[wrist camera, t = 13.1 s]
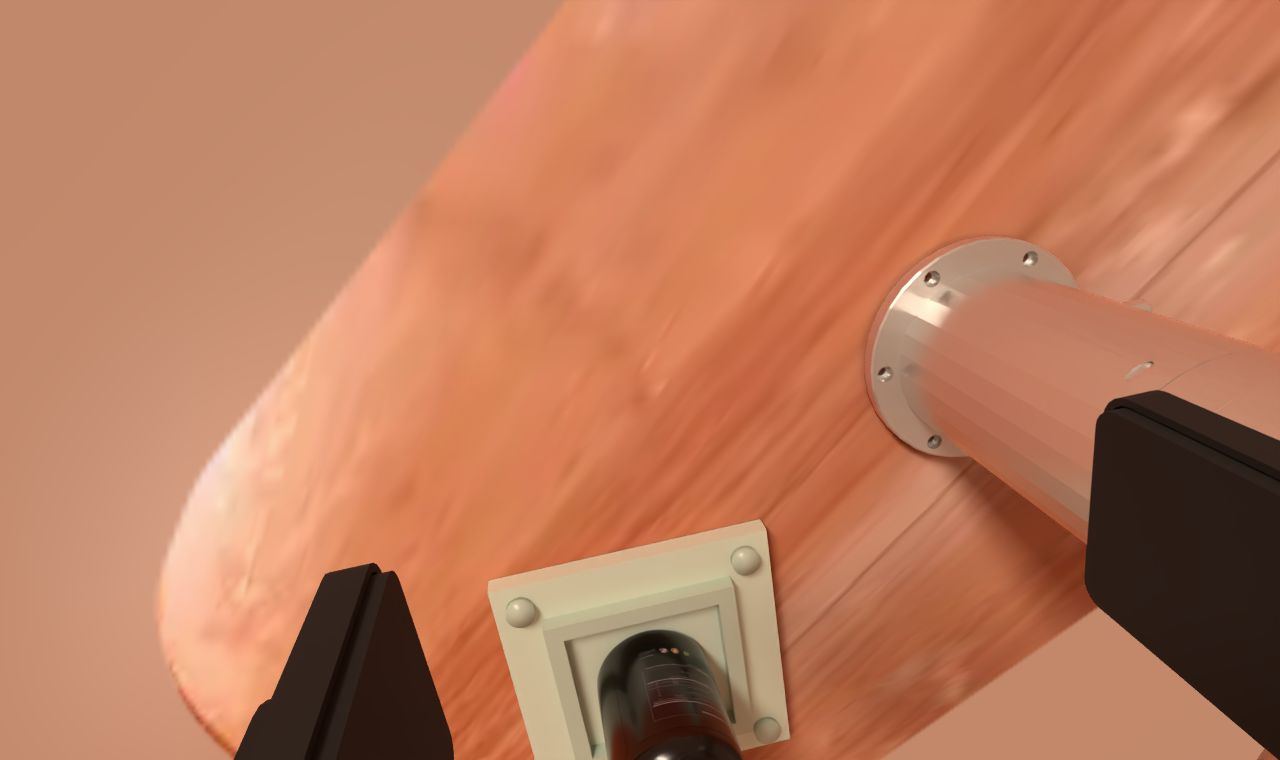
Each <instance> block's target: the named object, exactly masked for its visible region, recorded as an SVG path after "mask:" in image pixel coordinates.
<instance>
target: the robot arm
mask: <svg viewBox="0 0 1280 760" xmlns="http://www.w3.org/2000/svg"><path fill="white" fill-rule="evenodd" d="M926 275H927V277H926V278H925V276H926ZM881 368H882V369H881ZM880 369H881V371H880ZM879 371H880V372H879ZM865 381H866V386H867V390H868V395H869V398H870V400H871V402H872V404H873V407H874V409H875V411H876V413H877V414H878V416H879V417H880V418H881V420H882V421H883V422H884V424H885V425H886V426H887V427H888V428H889V429H890V430H891V431H892V432H893V433H894V434H895V435H897V436H898V437H899V438H900V439H901V440H903V441H904V442H906V443H907V444H909V445H910V446H912V447H913V448H915V449H917V450H920V451H922V452H925V453H927V454H931V455H936V456H943V457H949V458H952V457H972V458H973V459H974V460H975V461H977V462H978V463H979V464H981V465H982V466H983V467H985V468H986V469H987V470H989V471H990V472H991V473H993V474H994V475H995V476H997V477H998V478H999V479H1001V480H1002V481H1003V482H1004V483H1006V484H1007V485H1008V486H1010V487H1011V488H1012V489H1014V490H1015V491H1016V492H1018V493H1019V494H1020V495H1022V496H1023V497H1024V498H1026V499H1027V500H1028V501H1030V502H1031V503H1032V504H1033V505H1035V506H1036V507H1037V508H1039V509H1040V510H1041V511H1043V512H1044V513H1045V514H1047V515H1048V516H1049V517H1051V518H1052V519H1053V520H1055V521H1056V522H1057V523H1058V524H1060V525H1061V526H1062V527H1064V528H1065V529H1066V530H1068V531H1069V532H1070V533H1072V534H1073V535H1074V536H1076V537H1077V538H1078V539H1080V540H1081V541H1082V542H1084V543H1085V544H1086V545H1087V550H1086V563H1085V585H1086V589H1087V591H1088V593H1089V595H1090V597H1091V598H1092V600H1093V601H1094V603H1095V604H1096V605H1097V606H1098V607H1099V608H1100V609H1102V610H1103V611H1104V612H1105V613H1106V614H1107V615H1109V616H1110V617H1111V618H1112V619H1113V620H1115V621H1116V622H1117V623H1118V624H1119V625H1120V626H1121V627H1123V628H1124V629H1125V630H1126V631H1128V632H1129V633H1130V634H1131V635H1132V636H1133V637H1135V638H1136V639H1137V640H1138V641H1139V642H1140V643H1142V644H1143V645H1144V646H1145V647H1146V648H1147V649H1149V650H1150V651H1151V652H1152V653H1153V654H1154V655H1156V656H1157V657H1158V658H1159V659H1160V660H1161V661H1163V662H1164V663H1165V664H1166V665H1167V666H1169V667H1170V668H1171V669H1172V670H1173V671H1174V672H1176V673H1177V674H1178V675H1179V676H1180V677H1182V678H1183V679H1184V680H1185V681H1186V682H1187V683H1189V684H1190V685H1191V686H1192V687H1193V688H1195V689H1196V690H1197V691H1198V692H1199V693H1200V694H1201V695H1203V696H1204V697H1205V698H1206V699H1207V700H1209V701H1210V702H1211V703H1212V704H1213V705H1214V706H1216V707H1217V708H1218V709H1219V710H1220V711H1221V712H1223V713H1224V714H1225V715H1226V716H1227V717H1229V718H1230V719H1231V720H1232V721H1233V722H1234V723H1236V724H1237V725H1238V726H1239V727H1240V728H1241V729H1243V730H1244V731H1245V732H1246V733H1247V734H1248V735H1250V736H1251V737H1252V738H1253V739H1254V740H1256V741H1257V742H1258V743H1259V744H1260V745H1262V746H1263V747H1264V748H1265V749H1264V751H1263V752H1262V753H1261V755H1260V756H1259V758H1258V759H1257V760H1280V353H1279V352H1276V351H1273V350H1270V349H1266V348H1263V347H1260V346H1257V345H1254V344H1250V343H1247V342H1244V341H1241V340H1238V339H1234V338H1231V337H1228V336H1225V335H1222V334H1219V333H1215V332H1212V331H1209V330H1206V329H1203V328H1199V327H1196V326H1193V325H1190V324H1187V323H1183V322H1180V321H1177V320H1174V319H1171V318H1167V317H1164V316H1161V315H1158V314H1155V313H1152V308H1151V306H1150V304H1149V303H1148V302H1147V301H1145V300H1144V299H1137V300H1132V301H1128V302H1123V303H1119V302H1116V301H1113V300H1110V299H1107V298H1104V297H1100V296H1097V295H1094V294H1091V293H1088V292H1084V291H1081V290H1080V289H1079V286H1078V285H1077V283H1076V281H1075V279H1074V277H1073V276H1072V274H1071V272H1070V271H1069V269H1068V268H1067V267H1066V266H1065V265H1064V264H1063V263H1062V262H1061V261H1060V260H1059V259H1058V258H1057V257H1056V256H1055V255H1053V254H1052V253H1050V252H1049V251H1047V250H1046V249H1044V248H1042V247H1041V246H1038V245H1035V244H1032V243H1029V242H1027V241H1024V240H1020V239H1015V238H1010V237H1006V236H979V237H974V238H969V239H964V240H960V241H958V242H955V243H953V244H950V245H948V246H945V247H943V248H940V249H939V250H937V251H935V252H934V253H932V254H931V255H929V256H927V257H926V258H924V259H923V260H921V261H920V262H919V263H917V264H916V265H915V266H914V267H913V268H912V269H911V270H909V271H908V272H907V273H906V274H905V275H904V276H903V277H902V278H901V279H900V280H899V282H898V283H897V284H896V285H895V286H894V288H893V289H892V290H891V291H890V293H889V294H888V295H887V297H886V299H885V300H884V302H883V304H882V306H881V307H880V309H879V311H878V312H877V314H876V317H875V319H874V322H873V325H872V327H871V330H870V333H869V336H868V341H867V346H866V352H865ZM234 760H454V751H453V743H452V737H451V734H450V730H449V727H448V724H447V721H446V718H445V715H444V712H443V709H442V706H441V703H440V700H439V697H438V694H437V691H436V688H435V685H434V682H433V679H432V677H431V674H430V671H429V668H428V665H427V662H426V659H425V656H424V653H423V650H422V647H421V644H420V641H419V638H418V635H417V632H416V629H415V626H414V623H413V620H412V617H411V614H410V611H409V608H408V605H407V602H406V599H405V596H404V593H403V590H402V587H401V584H400V581H399V579H398V576H397V575H396V573H395V572H394V571H389V572H384V573H382V572H381V570H380V568H379V567H378V565H377V564H375V563H370V564H366V565H361V566H357V567H352V568H348V569H343V570H339V571H334V572H330V573H327V574H325V576H324V577H323V579H322V581H321V583H320V586H319V588H318V590H317V593H316V595H315V597H314V600H313V602H312V604H311V607H310V609H309V612H308V614H307V616H306V619H305V621H304V623H303V626H302V628H301V630H300V633H299V635H298V637H297V640H296V642H295V644H294V647H293V649H292V651H291V654H290V656H289V659H288V661H287V663H286V666H285V668H284V670H283V673H282V675H281V677H280V680H279V682H278V684H277V687H276V689H275V691H274V694H273V696H272V698H271V699H270V700H267V701H265V702H264V703H263V704H261V705H260V706H259V707H258V709H257V711H256V712H255V714H254V716H253V717H252V720H251V722H250V724H249V726H248V729H247V731H246V733H245V735H244V738H243V740H242V742H241V744H240V747H239V749H238V751H237V753H236V756H235V758H234Z"/></svg>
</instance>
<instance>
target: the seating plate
mask: <svg viewBox="0 0 1280 760" xmlns="http://www.w3.org/2000/svg"><path fill="white" fill-rule="evenodd" d="M488 596H489V600H490V603H491V607H492V610H493V614H494V617H495V621H496V624H497V628H498V631H499V635H500V638H501V642H502V645H503V649H504V653H505V656H506V660H507V663H508V667H509V670H510V674H511V677H512V681H513V684H514V688H515V691H516V695H517V698H518V702H519V705H520V709H521V712H522V716H523V719H524V723H525V726H526V730H527V733H528V737H529V740H530V744H531V747H532V751H533V754H534V758H535V760H608V759H607V752H606V746H605V739H604V733H603V726H602V720H601V713H600V707H599V699H598V692H597V679H598V674H599V670H600V668H601V665H602V663H603V661H604V660H605V658H606V657H607V655H608V654H609V653H610V651H611V650H612V649H613V648H614V647H615V646H617V645H618V644H619V643H620V642H622V641H623V640H625V639H626V638H628V637H630V636H632V635H635V634H637V633H640V632H644V631H648V630H658V629H659V630H670V631H675V632H678V633H681V634H683V635H685V636H687V637H689V638H690V639H692V640H693V641H694V642H695V643H697V645H698V646H699V647H700V648H701V649H702V651H703V652H704V654H705V656H706V658H707V661H708V663H709V666H710V668H711V671H712V673H713V676H714V679H715V681H716V684H717V687H718V689H719V692H720V695H721V697H722V700H723V703H724V706H725V708H726V711H727V714H728V716H729V719H730V722H731V724H732V727H733V730H734V732H735V735H736V738H737V741H738V743H739V746H740V749H741V751H744V750H748V749H752V748H755V747H759V746H763V745H767V744H771V743H775V742H779V741H783V740H787V739H790V734H789V725H788V716H787V708H786V699H785V690H784V681H783V672H782V663H781V654H780V646H779V637H778V628H777V619H776V610H775V601H774V593H773V584H772V575H771V566H770V557H769V548H768V539H767V531H766V528H765V527H764V525H763V523H762V522H761V520H760V519H759V520H754V521H750V522H745V523H741V524H737V525H732V526H728V527H723V528H719V529H714V530H710V531H706V532H701V533H697V534H692V535H688V536H684V537H679V538H675V539H670V540H666V541H661V542H657V543H653V544H648V545H644V546H639V547H635V548H631V549H626V550H622V551H617V552H613V553H608V554H604V555H600V556H595V557H591V558H586V559H582V560H578V561H573V562H569V563H564V564H560V565H555V566H551V567H547V568H542V569H538V570H533V571H529V572H525V573H520V574H516V575H511V576H507V577H503V578H498V579H494V580H489V582H488Z"/></svg>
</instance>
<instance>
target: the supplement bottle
mask: <svg viewBox="0 0 1280 760" xmlns="http://www.w3.org/2000/svg"><path fill="white" fill-rule="evenodd" d="M597 692H598V699H599V707H600V713H601V720H602V726H603V733H604V739H605V746H606V752H607V759H608V760H744V757H743V754H742V751H741V749H740V746H739V743H738V741H737V738H736V735H735V732H734V730H733V727H732V724H731V722H730V719H729V716H728V714H727V711H726V708H725V706H724V703H723V700H722V697H721V695H720V692H719V689H718V687H717V684H716V681H715V679H714V676H713V673H712V671H711V668H710V666H709V663H708V661H707V658H706V656H705V654H704V652H703V651H702V649H701V648H700V647H699V646H698V645H697V643H695V642H694V641H693V640H692V639H690V638H689V637H687V636H685V635H683V634H681V633H678V632H675V631H670V630H659V629H658V630H648V631H644V632H640V633H637V634H635V635H632V636H630V637H628V638H626V639H625V640H623V641H622V642H620V643H619V644H618V645H617V646H615V647H614V648H613V649H612V650H611V651H610V653H609V654H608V655H607V657H606V658H605V660H604V661H603V663H602V665H601V668H600V670H599V674H598V679H597Z"/></svg>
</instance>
